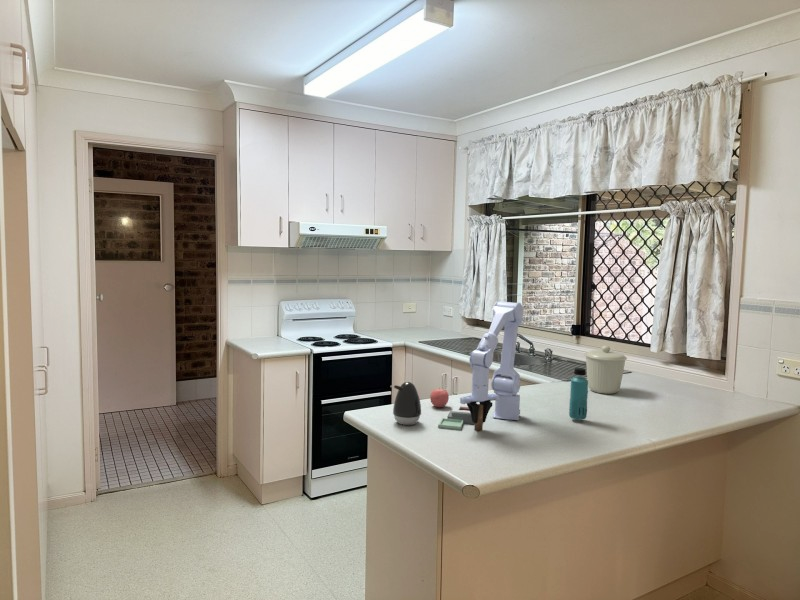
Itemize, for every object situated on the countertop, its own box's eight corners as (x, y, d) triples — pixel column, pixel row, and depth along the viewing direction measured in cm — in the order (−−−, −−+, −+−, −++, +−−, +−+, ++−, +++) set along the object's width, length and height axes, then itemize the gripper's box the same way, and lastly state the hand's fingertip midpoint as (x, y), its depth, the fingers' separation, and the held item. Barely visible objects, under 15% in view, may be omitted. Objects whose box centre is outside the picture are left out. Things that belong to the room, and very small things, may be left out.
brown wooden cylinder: (482, 429, 198) (483, 404, 197) (482, 431, 196) (483, 406, 195) (474, 428, 199) (475, 403, 198) (474, 430, 196) (474, 405, 195)
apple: (447, 410, 220) (447, 390, 220) (428, 408, 222) (429, 389, 221) (449, 405, 228) (449, 385, 227) (431, 403, 229) (431, 384, 228)
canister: (628, 390, 258) (631, 345, 256) (620, 398, 243) (623, 351, 241) (588, 384, 268) (590, 340, 266) (578, 392, 253) (580, 346, 251)
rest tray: (463, 423, 205) (463, 420, 204) (460, 430, 197) (460, 426, 197) (441, 421, 206) (441, 418, 206) (438, 427, 199) (438, 424, 198)
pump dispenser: (388, 420, 206) (388, 379, 204) (413, 417, 210) (414, 377, 209) (398, 428, 197) (399, 386, 195) (425, 425, 201) (426, 384, 199)
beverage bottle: (577, 424, 206) (580, 371, 204) (564, 419, 212) (567, 367, 210) (590, 422, 209) (593, 369, 207) (577, 417, 215) (580, 366, 213)
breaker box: (482, 416, 213) (482, 406, 212) (480, 424, 203) (480, 414, 203) (451, 413, 216) (451, 403, 215) (447, 421, 206) (447, 411, 206)
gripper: (491, 379, 202) (490, 416, 204) (456, 383, 196) (455, 420, 198) (502, 384, 196) (500, 422, 197) (466, 387, 190) (465, 426, 191)
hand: (478, 421), depth 197 cm, fingers closed on brown wooden cylinder, 3 cm apart
